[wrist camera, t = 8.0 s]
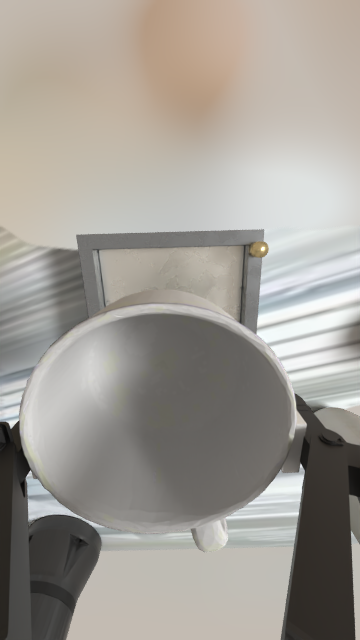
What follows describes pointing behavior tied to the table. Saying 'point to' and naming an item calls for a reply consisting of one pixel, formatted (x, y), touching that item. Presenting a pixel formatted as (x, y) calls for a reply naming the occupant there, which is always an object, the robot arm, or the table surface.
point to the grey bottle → (352, 432)
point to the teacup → (158, 417)
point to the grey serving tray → (176, 267)
